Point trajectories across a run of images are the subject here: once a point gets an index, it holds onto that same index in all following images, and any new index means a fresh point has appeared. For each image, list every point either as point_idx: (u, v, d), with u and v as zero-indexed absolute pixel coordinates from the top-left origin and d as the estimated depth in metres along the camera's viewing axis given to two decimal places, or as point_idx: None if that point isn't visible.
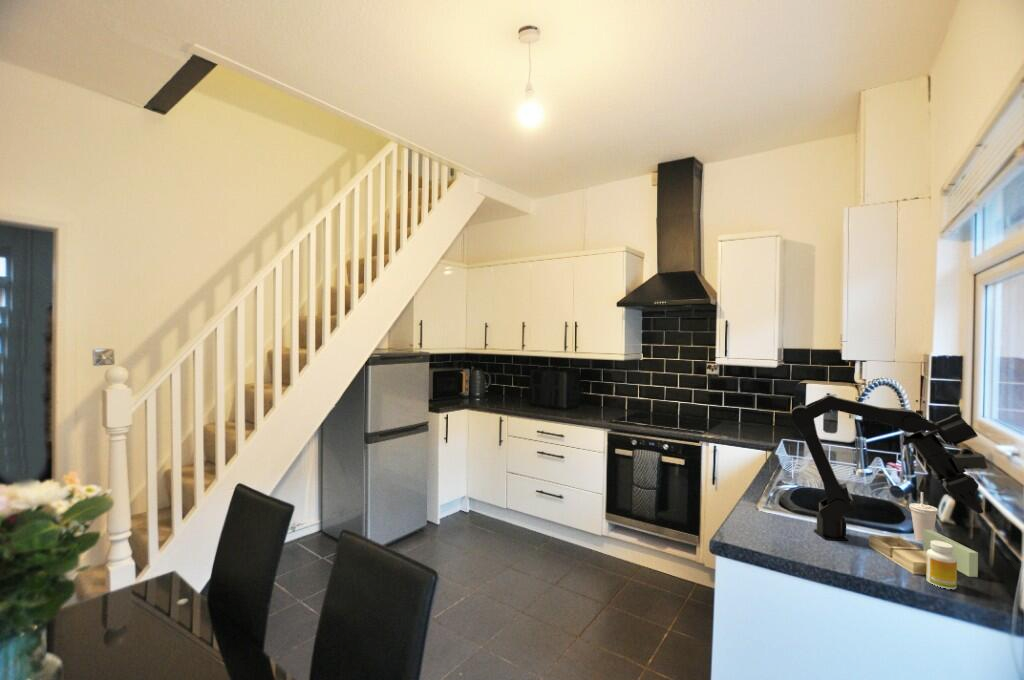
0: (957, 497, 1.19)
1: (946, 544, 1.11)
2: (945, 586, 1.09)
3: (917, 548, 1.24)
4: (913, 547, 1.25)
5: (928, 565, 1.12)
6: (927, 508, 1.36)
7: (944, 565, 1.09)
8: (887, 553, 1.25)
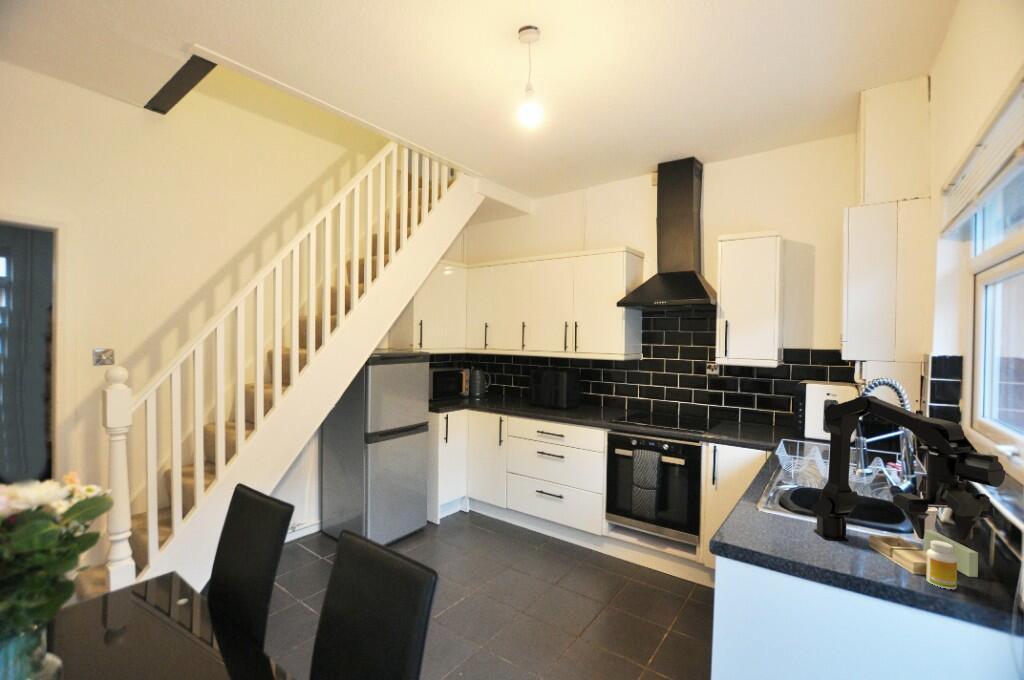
0: (906, 511, 1.14)
1: (946, 544, 1.11)
2: (945, 586, 1.09)
3: (917, 548, 1.24)
4: (913, 547, 1.25)
5: (928, 565, 1.12)
6: None
7: (944, 565, 1.09)
8: (887, 553, 1.25)
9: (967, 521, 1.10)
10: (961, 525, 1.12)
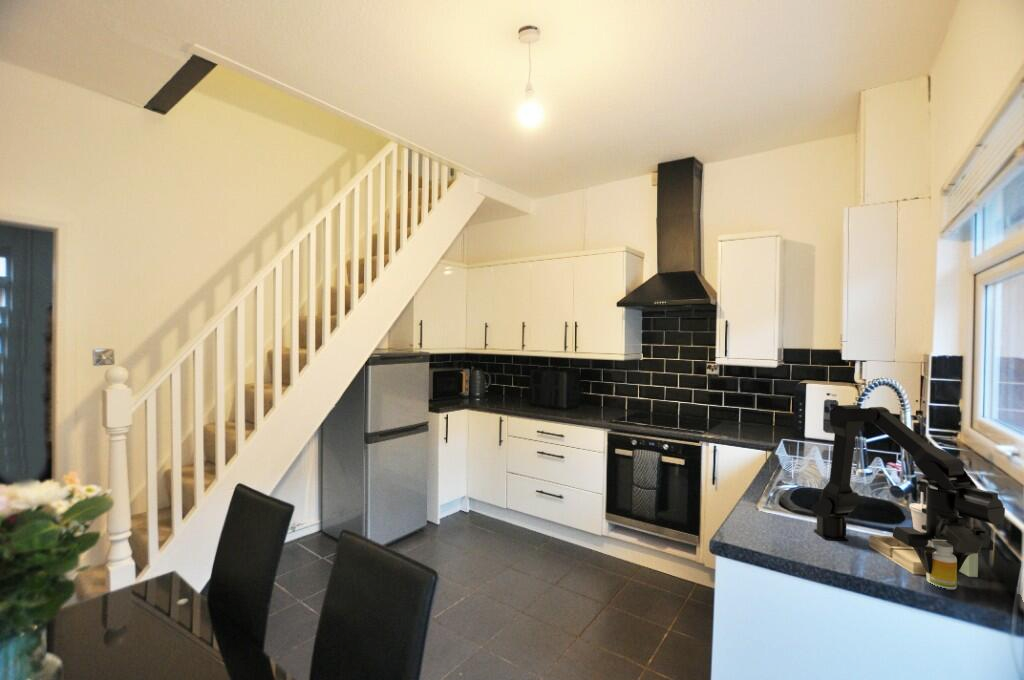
0: None
1: (946, 544, 1.11)
2: (945, 586, 1.09)
3: None
4: None
5: None
6: None
7: (944, 565, 1.09)
8: (887, 553, 1.25)
9: (959, 555, 1.10)
10: None
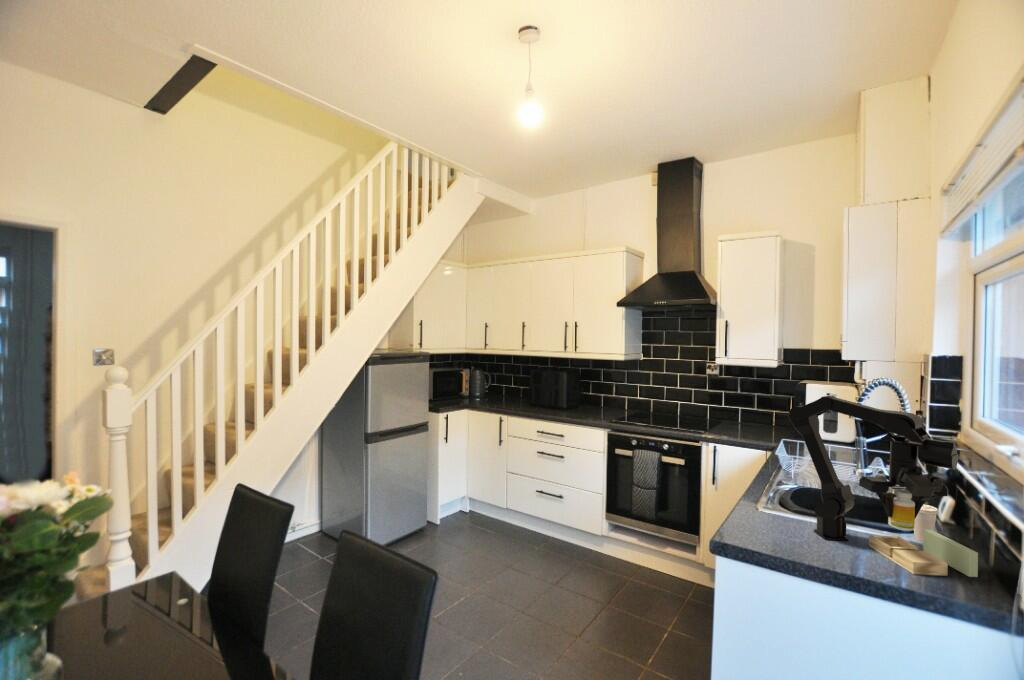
0: (877, 493, 1.28)
1: (906, 491, 1.25)
2: (903, 527, 1.23)
3: (917, 548, 1.24)
4: (913, 547, 1.25)
5: None
6: (927, 508, 1.36)
7: (903, 509, 1.23)
8: (887, 553, 1.25)
9: (917, 501, 1.24)
10: None
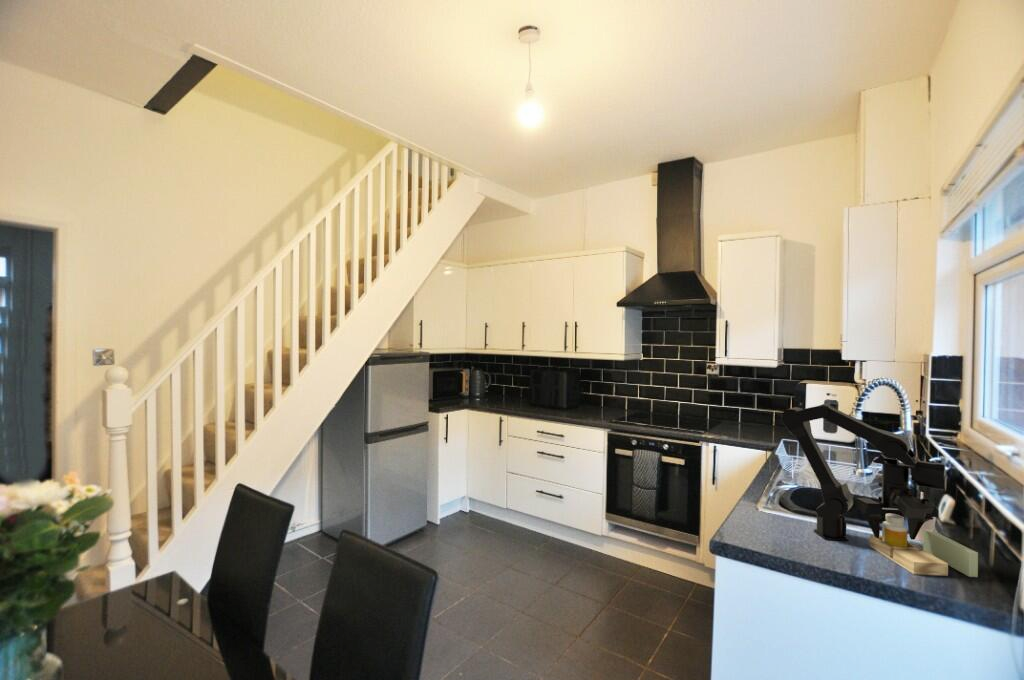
0: (864, 514, 1.31)
1: (898, 516, 1.28)
2: None
3: (917, 548, 1.24)
4: (913, 547, 1.25)
5: (883, 534, 1.29)
6: None
7: (896, 534, 1.26)
8: (887, 553, 1.25)
9: (916, 522, 1.27)
10: (912, 526, 1.28)
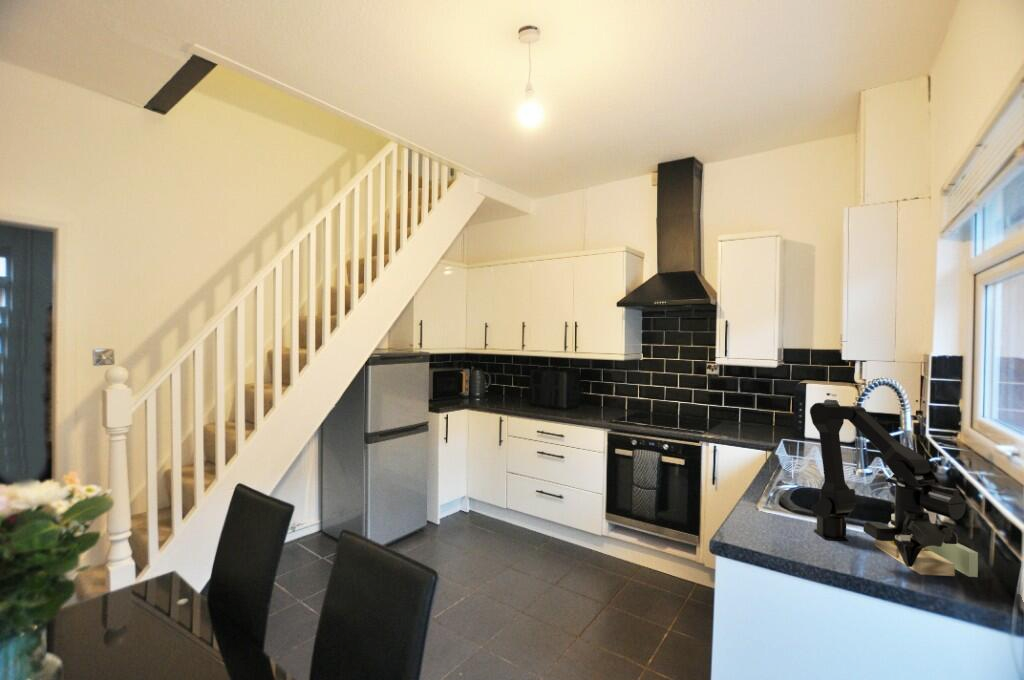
0: (893, 540, 1.21)
1: None
2: None
3: (924, 548, 1.24)
4: None
5: None
6: None
7: None
8: (894, 553, 1.25)
9: (914, 548, 1.17)
10: None
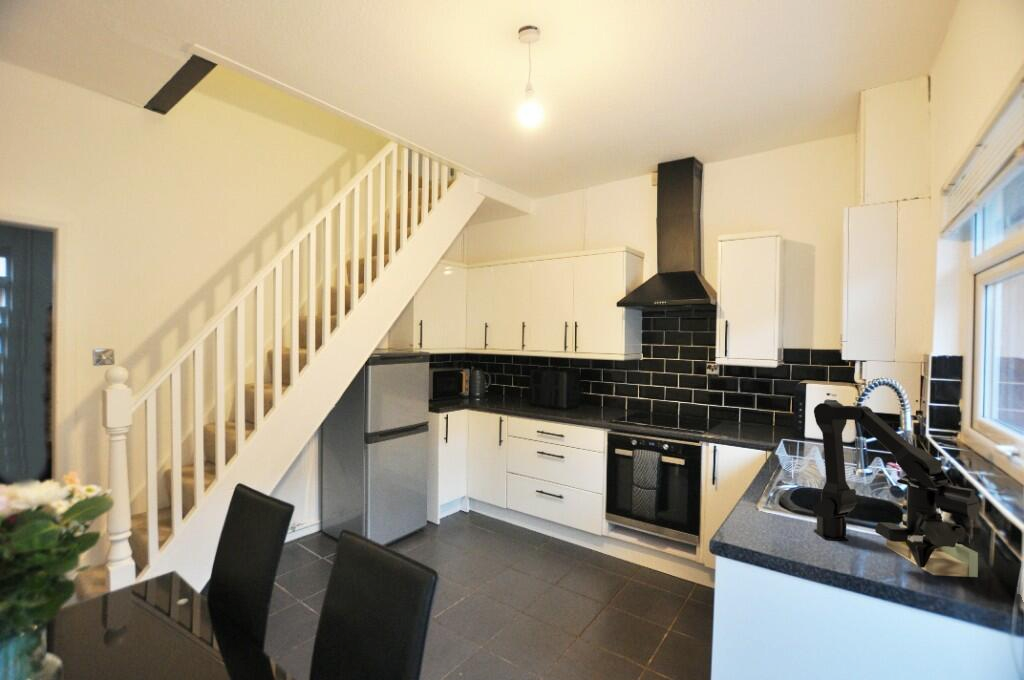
0: (905, 540, 1.20)
1: None
2: None
3: (936, 549, 1.24)
4: None
5: None
6: None
7: None
8: (905, 554, 1.25)
9: (926, 549, 1.17)
10: None
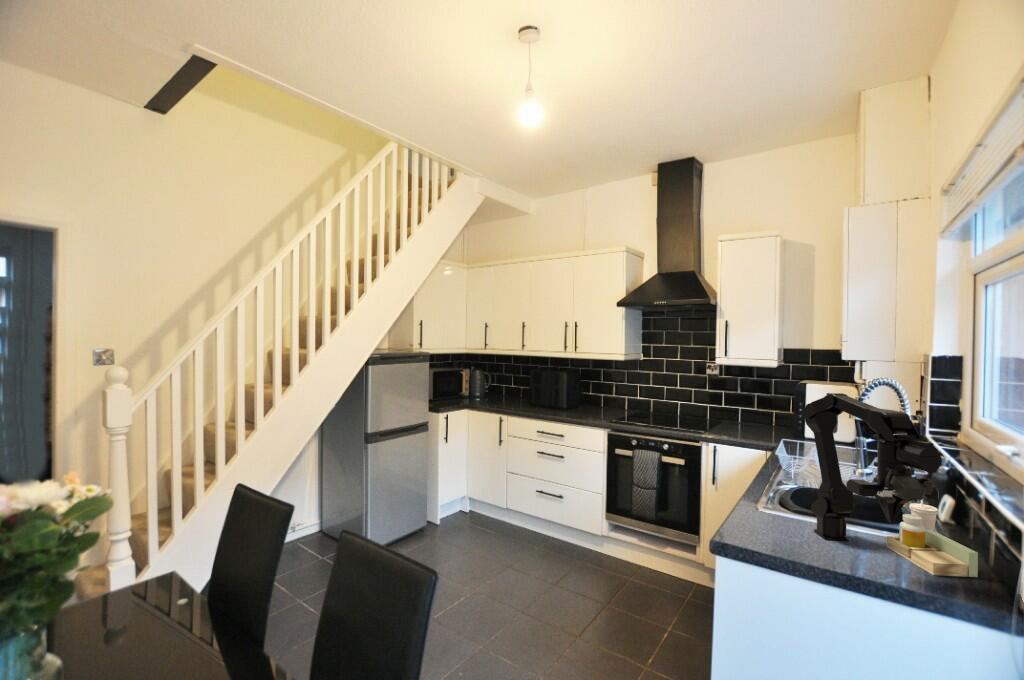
0: (876, 497, 1.21)
1: (916, 517, 1.27)
2: None
3: (936, 549, 1.24)
4: (932, 548, 1.24)
5: (900, 535, 1.28)
6: (927, 508, 1.36)
7: (914, 535, 1.25)
8: (905, 554, 1.25)
9: (896, 504, 1.18)
10: None
